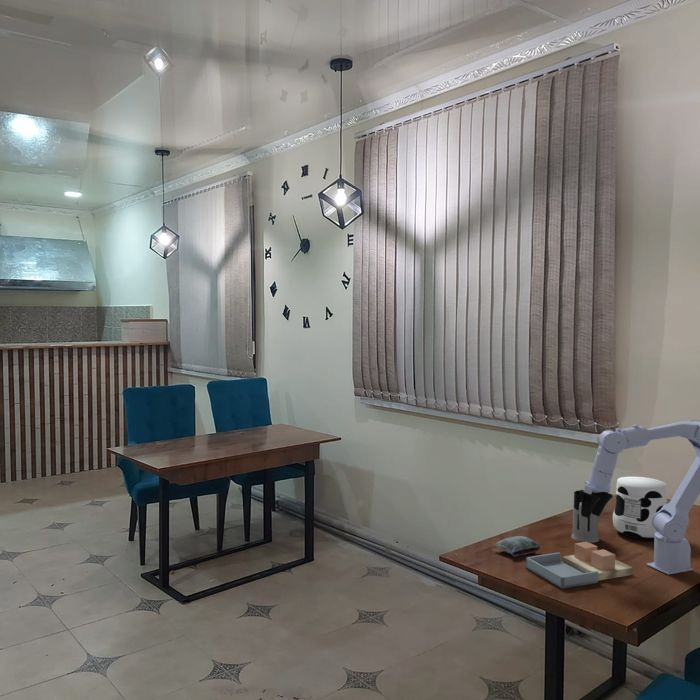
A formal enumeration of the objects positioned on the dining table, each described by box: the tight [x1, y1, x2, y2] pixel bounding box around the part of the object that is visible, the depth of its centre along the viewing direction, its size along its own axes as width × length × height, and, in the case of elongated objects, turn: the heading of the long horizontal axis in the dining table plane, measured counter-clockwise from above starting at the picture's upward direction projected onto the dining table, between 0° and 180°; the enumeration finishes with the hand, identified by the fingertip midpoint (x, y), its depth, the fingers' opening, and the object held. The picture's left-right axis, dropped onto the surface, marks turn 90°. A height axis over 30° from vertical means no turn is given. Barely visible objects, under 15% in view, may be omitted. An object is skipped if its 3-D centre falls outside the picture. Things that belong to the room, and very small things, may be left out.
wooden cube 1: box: [573, 541, 598, 562], centre depth 189 cm, size 4×4×4 cm
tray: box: [525, 552, 599, 590], centre depth 182 cm, size 12×16×3 cm
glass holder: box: [570, 489, 600, 544], centre depth 210 cm, size 9×14×15 cm, turn 149°
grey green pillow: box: [493, 535, 541, 557], centre depth 199 cm, size 9×12×5 cm
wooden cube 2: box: [591, 548, 616, 571], centre depth 182 cm, size 4×4×4 cm
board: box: [561, 554, 634, 582], centre depth 186 cm, size 13×14×2 cm
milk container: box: [612, 476, 668, 540], centre depth 216 cm, size 17×17×18 cm
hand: (590, 515), depth 188 cm, fingers open, 7 cm apart
